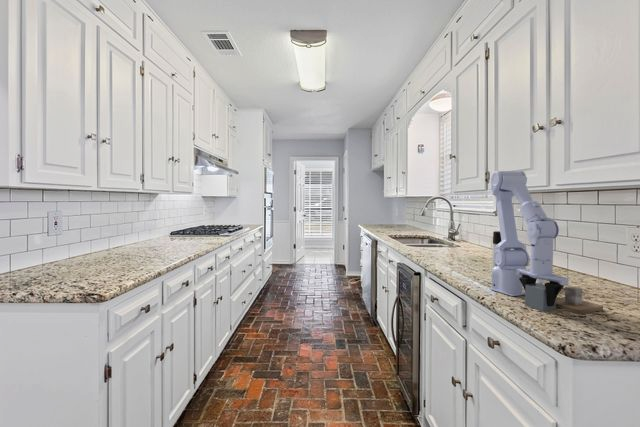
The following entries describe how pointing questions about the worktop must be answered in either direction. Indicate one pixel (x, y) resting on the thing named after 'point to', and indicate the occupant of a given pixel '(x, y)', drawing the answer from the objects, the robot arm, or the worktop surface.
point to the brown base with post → (576, 302)
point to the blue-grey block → (537, 297)
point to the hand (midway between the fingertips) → (540, 302)
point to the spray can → (495, 241)
